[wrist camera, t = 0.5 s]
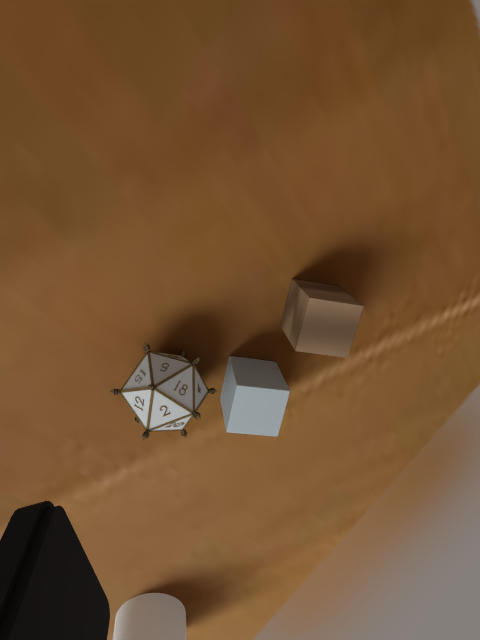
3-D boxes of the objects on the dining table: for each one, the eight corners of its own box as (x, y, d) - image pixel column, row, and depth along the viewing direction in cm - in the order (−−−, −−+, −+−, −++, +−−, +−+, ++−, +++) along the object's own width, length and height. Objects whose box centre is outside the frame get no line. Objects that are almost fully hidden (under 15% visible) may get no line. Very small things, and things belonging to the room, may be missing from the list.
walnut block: (291, 278, 42) (309, 297, 36) (339, 286, 43) (363, 306, 37) (280, 325, 43) (295, 351, 38) (326, 332, 44) (347, 357, 39)
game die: (185, 350, 47) (250, 392, 41) (139, 416, 46) (199, 470, 40) (132, 312, 40) (201, 357, 34) (76, 389, 39) (138, 450, 33)
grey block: (229, 355, 44) (236, 385, 38) (275, 361, 45) (289, 391, 39) (220, 397, 46) (226, 432, 40) (265, 402, 47) (277, 436, 41)
